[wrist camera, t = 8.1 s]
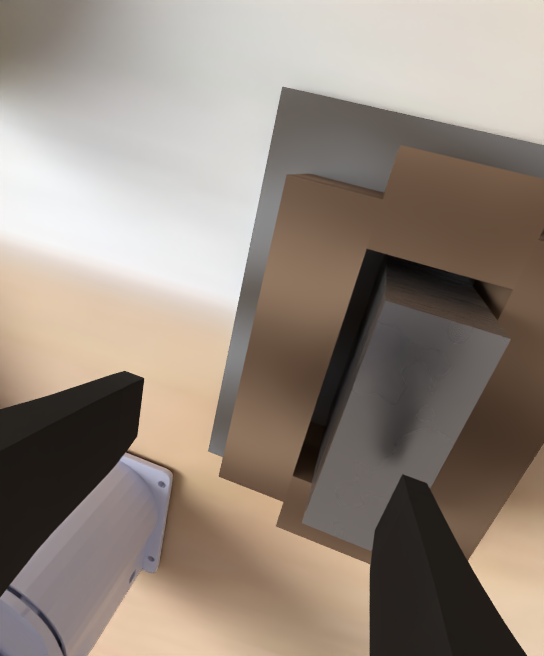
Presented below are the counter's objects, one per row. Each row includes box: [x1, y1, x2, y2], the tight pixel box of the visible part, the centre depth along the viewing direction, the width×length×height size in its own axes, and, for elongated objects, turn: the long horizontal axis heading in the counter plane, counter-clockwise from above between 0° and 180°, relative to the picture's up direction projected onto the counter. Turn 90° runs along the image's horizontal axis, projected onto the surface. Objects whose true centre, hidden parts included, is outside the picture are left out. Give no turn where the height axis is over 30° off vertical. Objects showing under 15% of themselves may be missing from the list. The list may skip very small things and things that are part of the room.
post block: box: [208, 87, 544, 564], centre depth 16 cm, size 18×14×5 cm
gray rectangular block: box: [302, 254, 511, 551], centre depth 14 cm, size 8×3×7 cm, turn 166°
